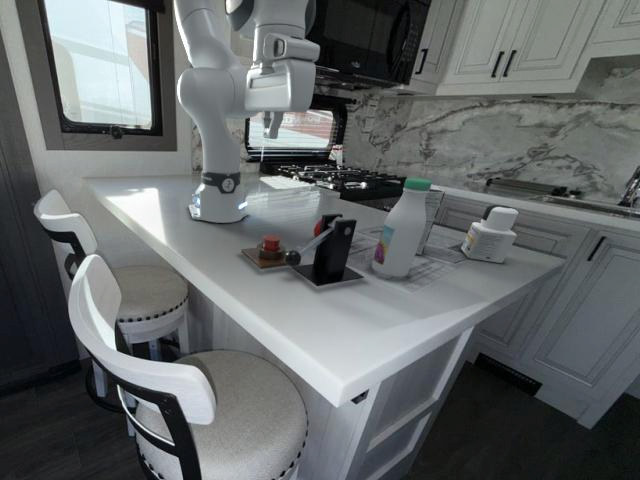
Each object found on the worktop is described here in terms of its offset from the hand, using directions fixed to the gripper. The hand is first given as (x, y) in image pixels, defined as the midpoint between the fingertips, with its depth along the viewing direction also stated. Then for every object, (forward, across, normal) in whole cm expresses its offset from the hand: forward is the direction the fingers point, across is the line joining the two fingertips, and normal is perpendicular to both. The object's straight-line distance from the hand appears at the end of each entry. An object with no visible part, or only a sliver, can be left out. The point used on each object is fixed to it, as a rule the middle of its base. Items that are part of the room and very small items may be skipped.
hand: (270, 138), depth 62 cm
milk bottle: (+25, +19, +23) cm, 39 cm away
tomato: (+25, 0, +21) cm, 33 cm away
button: (+22, +5, 0) cm, 23 cm away
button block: (+25, +5, 0) cm, 26 cm away
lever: (+18, +16, +4) cm, 25 cm away
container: (+25, +19, +57) cm, 65 cm away
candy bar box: (+25, +8, +42) cm, 50 cm away
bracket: (+25, +16, +8) cm, 31 cm away
